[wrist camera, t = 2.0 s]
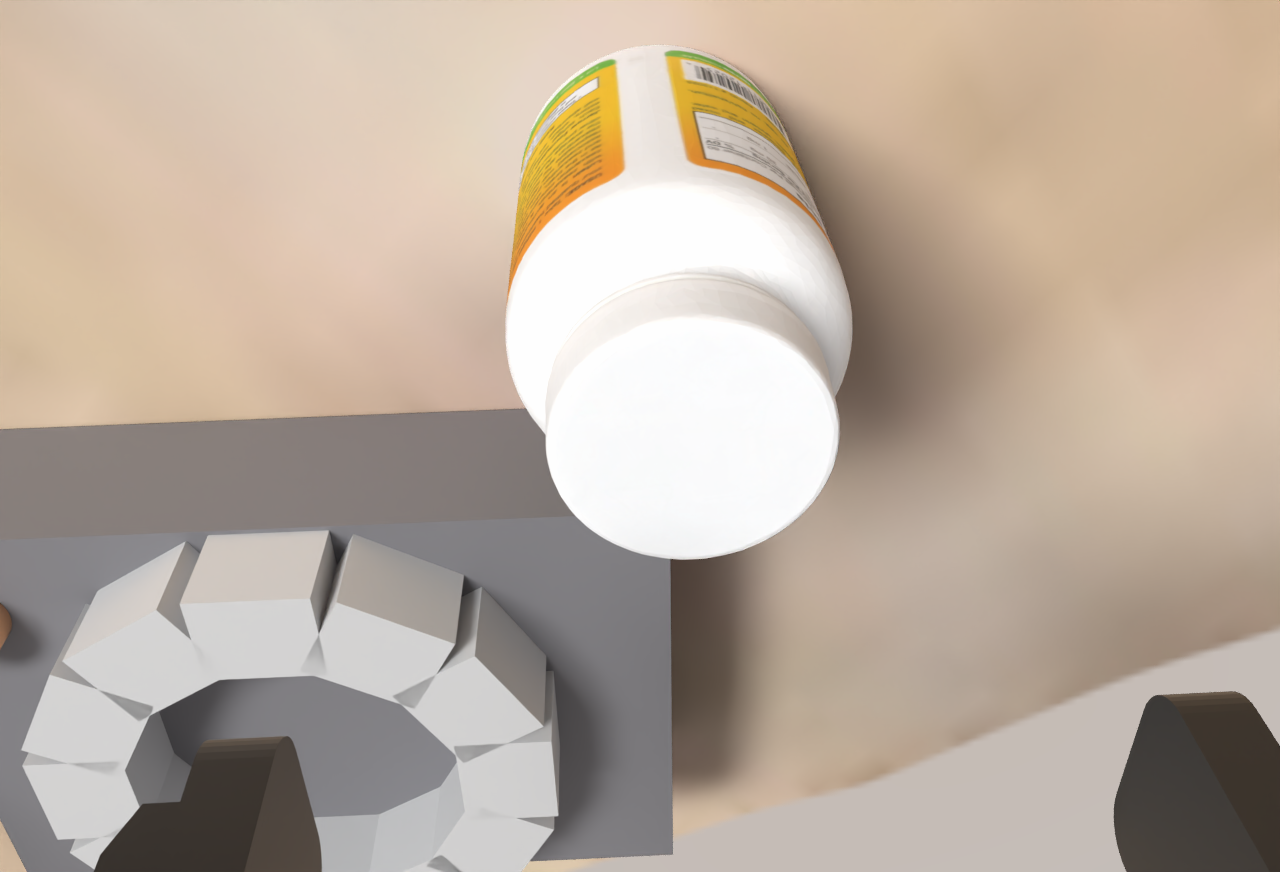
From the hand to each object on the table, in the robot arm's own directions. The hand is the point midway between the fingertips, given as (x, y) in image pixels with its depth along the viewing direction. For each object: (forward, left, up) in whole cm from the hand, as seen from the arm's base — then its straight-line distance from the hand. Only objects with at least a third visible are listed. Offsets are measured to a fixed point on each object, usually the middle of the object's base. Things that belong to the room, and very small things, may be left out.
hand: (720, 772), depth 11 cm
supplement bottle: (0, 0, -15) cm, 15 cm away
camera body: (+8, +11, -15) cm, 20 cm away
